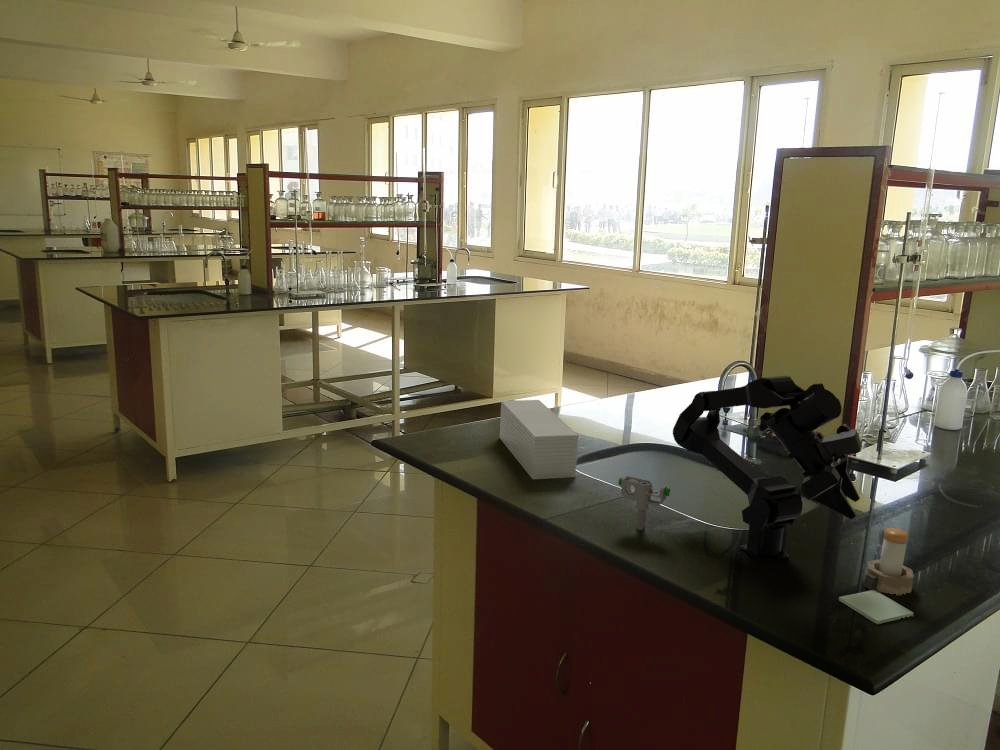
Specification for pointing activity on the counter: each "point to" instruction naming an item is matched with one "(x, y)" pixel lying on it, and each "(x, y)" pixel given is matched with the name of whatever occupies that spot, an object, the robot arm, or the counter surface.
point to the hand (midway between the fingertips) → (855, 508)
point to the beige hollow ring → (888, 580)
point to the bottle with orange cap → (893, 551)
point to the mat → (875, 606)
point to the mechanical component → (642, 495)
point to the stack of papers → (538, 439)
